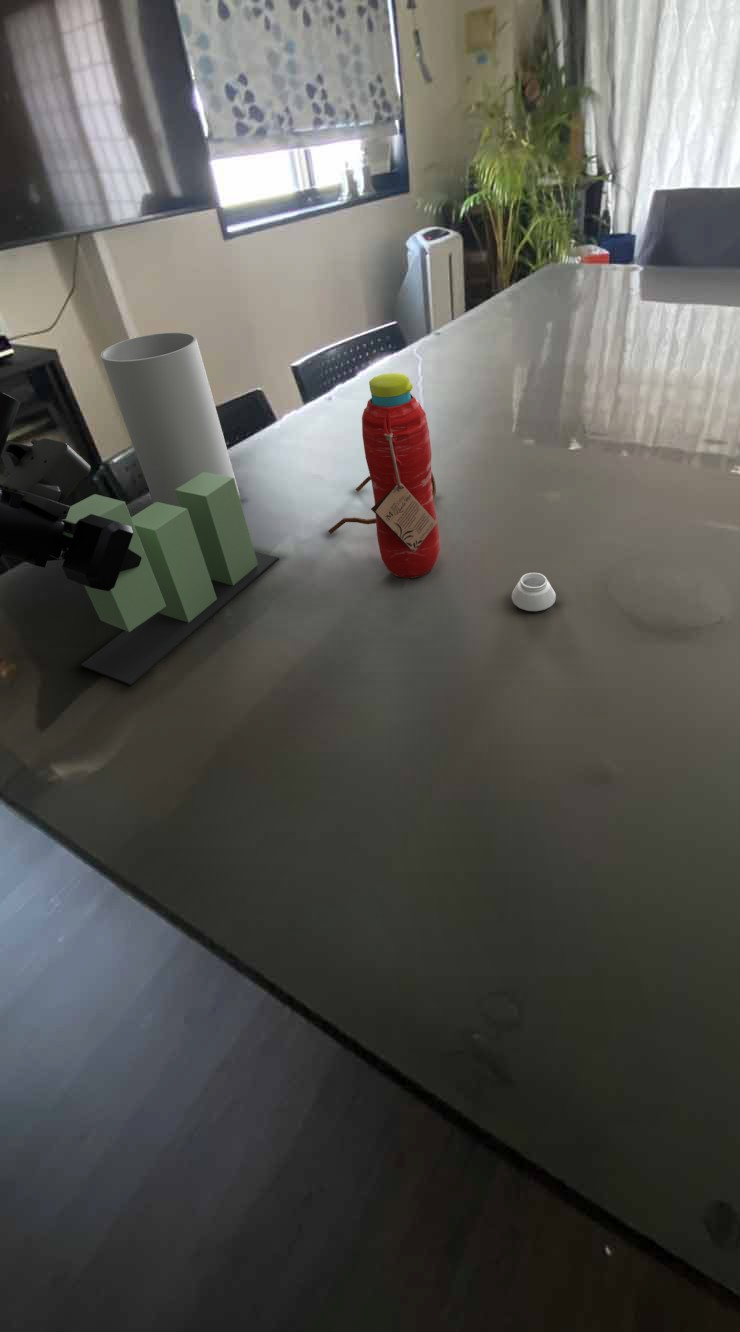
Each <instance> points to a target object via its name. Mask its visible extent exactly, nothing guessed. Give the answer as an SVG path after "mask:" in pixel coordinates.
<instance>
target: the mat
mask: <svg viewBox="0 0 740 1332" xmlns="http://www.w3.org/2000/svg"><path fill="white" fill-rule="evenodd" d="M254 552H255V556H256V560H257V563H258V565H257V566H256V567H255V568H254V569H253V570H251V571H250V572H249V573H248V574H247V575H245V576H244V577H243V578H242V579H241V580H239V581H238V582H237V583H236V584H235V585H229V584H226V583H222V582H218V581H215V580H211V582H212V585H213V588H214V591H215V594H216V597H217V600H215V601H214V602H213V603H212V604H211V605H209V606H208V607H207V608H206V609H205V610H203V611H202V612H201V613H200V614H199V615H197V616H196V617H195V618H194V619H193V620H192V621H190V622H189V623H188V622H185V621H182V620H179V619H176V618H172V617H169V616H166V615H163V614H160V613H159V612H157V613H156V614H154V615H153V616H152V617H150V618H149V619H147V620H146V621H144V622H143V623H142V624H140V625H139V626H137V627H136V628H135V629H133V630H132V631H130V632H128V631H125V630H123V631H122V632H121V633H119V634H118V635H116V637H114V638H113V639H112V640H110V641H108V643H107V644H105V645H104V646H103V647H101V648H100V649H99V650H98V651H96V652H95V653H94V654H93V655H91V656H89V657H88V658H87V659H86V660H85V661H83V662H82V663H81V664H80V666H81V668H84V669H87V670H89V671H92V672H95V673H97V674H99V675H102V676H104V677H107V678H110V679H113V680H115V681H117V682H120V683H123V684H125V685H128V686H130V687H131V686H132V685H134V684H135V683H136V682H138V681H139V680H140V679H141V678H142V677H143V676H144V675H146V674H147V673H148V672H149V671H150V670H152V668H154V667H155V666H156V665H157V664H158V663H159V662H161V661H162V660H163V659H164V658H166V657H167V656H168V655H169V654H170V653H171V652H172V651H174V650H175V649H176V648H177V647H178V646H180V644H182V643H183V642H184V641H185V640H187V639H188V638H189V637H190V636H191V635H192V634H193V633H195V632H196V631H197V630H198V629H199V628H200V627H201V626H203V625H204V624H205V623H206V622H207V621H208V620H210V619H211V618H212V617H213V616H214V615H216V614H217V613H218V612H219V611H220V610H222V609H223V608H224V607H225V606H226V605H227V604H229V603H230V602H231V601H232V600H233V599H234V598H236V596H238V595H239V594H240V593H242V591H244V590H245V589H246V588H247V587H248V586H250V585H251V584H252V583H253V582H254V581H256V579H258V578H259V577H260V576H261V575H262V574H264V573H265V572H267V570H268V569H269V568H271V567H272V566H273V565H274V564H275V563H276V562H278V561H279V560H280V558H279V557H278V556H275V555H270V554H266V553H262V552H258V551H254Z"/></svg>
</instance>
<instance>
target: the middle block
mask: <svg viewBox="0 0 740 1332" xmlns="http://www.w3.org/2000/svg"><path fill="white" fill-rule="evenodd" d="M131 519H132V521H133V524H134V526H135V529H136V531H137V534H138V536H139V539H140V541H141V544H142V546H143V549H144V551H145V554H146V557H147V559H148V562H149V564H150V567H151V569H152V572H153V574H154V577H155V579H156V582H157V584H158V587H159V589H160V592H161V594H162V597H163V599H164V602H165V604H166V607H164V608H163V609H162V610H160V611H159V613H160V614H163V615H166V616H169V617H172V618H176V619H179V620H182V621H185V622H188V623H189V622H190V621H192V620H193V619H194V618H195V617H196V616H197V615H199V614H200V613H201V612H202V611H203V610H205V609H206V608H207V607H208V606H209V605H211V604H212V603H213V602H214V601H215V600H217V597H216V594H215V591H214V588H213V585H212V582H211V579H210V576H209V573H208V570H207V567H206V564H205V561H204V558H203V555H202V552H201V549H200V546H199V543H198V540H197V537H196V534H195V531H194V528H193V525H192V522H191V519H190V515H189V512H188V509H186V508H182V507H177V506H173V505H168V504H164V503H159V502H155V503H154V502H152V504H150V505H148V506H147V507H146V508H144V509H142V510H141V511H139V512H137V513H136V514H134V515H133V516H131Z"/></svg>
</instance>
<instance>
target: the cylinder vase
mask: <svg viewBox="0 0 740 1332" xmlns="http://www.w3.org/2000/svg"><path fill="white" fill-rule="evenodd" d="M100 358H101V361H102V364H103V367H104V370H105V372H106V375H107V377H108V380H109V383H110V386H111V388H112V391H113V394H114V396H115V400H116V403H117V405H118V407H119V411H120V413H121V417H122V419H123V422H124V424H125V427H126V431H127V433H128V435H129V438H130V441H131V444H132V446H133V449H134V452H135V455H136V458H137V460H138V463H139V465H140V469H141V472H142V474H143V478H144V480H145V482H146V485H147V488H148V491H149V494H150V496H151V500H152V503H155V502H159V503H164V504H168V505H173V506H177V507H180V504H179V501H178V498H177V495H176V492H175V490H176V489H177V488H179V487H180V486H182V485H184V484H185V483H187V482H188V481H190V480H192V479H193V478H195V477H196V476H198V475H200V474H201V473H203V472H206V473H212V474H217V475H222V476H228V477H233V478H234V480H235V484H236V487H237V491H238V495H239V498H240V491H239V487H238V483H237V480H236V476H235V472H234V469H233V465H232V461H231V458H230V454H229V451H228V447H227V444H226V439H225V437H224V434H223V430H222V425H221V422H220V418H219V415H218V411H217V407H216V404H215V400H214V397H213V393H212V390H211V385H210V382H209V379H208V375H207V371H206V368H205V364H204V361H203V358H202V353H201V350H200V347H199V343H198V339H197V336H196V335H194V334H192V333H189V332H179V331H171V332H160V333H152V334H146V335H141V336H136V337H132V338H129V339H125V340H122V341H119V342H117V343H115V344H112V345H110V346H108V347H107V348H105V349H103V350H102V351H101V353H100Z"/></svg>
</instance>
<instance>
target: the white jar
mask: <svg viewBox="0 0 740 1332" xmlns="http://www.w3.org/2000/svg"><path fill="white" fill-rule="evenodd" d="M556 595H557V593H556V592H555V590H554V588H553V587H552V585H551V583H550V581H549V580H548V579H547V577H546V576H545V575H544V574H542V573H539V572H528V573H525V574H523V575H522V576H521V577H520V579H519V580H518V582H517V583H516V584H515V587H514V588H513V590H512V593H511V601H512V603H513V605H514V606H516V607H517V608H519V609H521V610H524V611H527V612H539V611H545V610H548V608H551V607H552V606H553V605H554V604H555V602H556Z"/></svg>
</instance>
